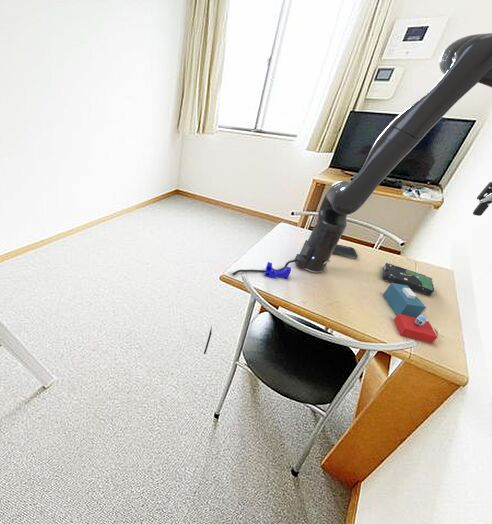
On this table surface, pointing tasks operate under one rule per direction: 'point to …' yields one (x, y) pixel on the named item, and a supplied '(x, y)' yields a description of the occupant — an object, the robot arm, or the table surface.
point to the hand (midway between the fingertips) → (485, 220)
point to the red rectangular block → (415, 328)
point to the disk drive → (408, 279)
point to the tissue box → (403, 300)
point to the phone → (345, 251)
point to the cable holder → (276, 272)
